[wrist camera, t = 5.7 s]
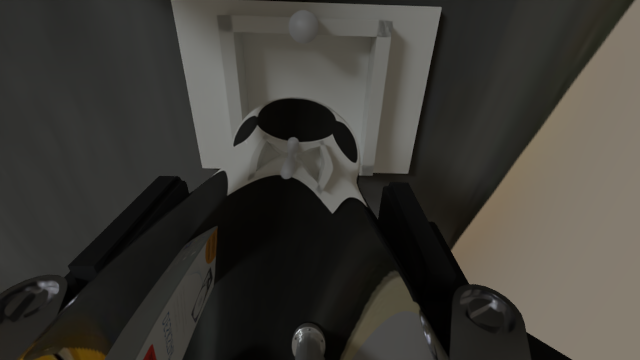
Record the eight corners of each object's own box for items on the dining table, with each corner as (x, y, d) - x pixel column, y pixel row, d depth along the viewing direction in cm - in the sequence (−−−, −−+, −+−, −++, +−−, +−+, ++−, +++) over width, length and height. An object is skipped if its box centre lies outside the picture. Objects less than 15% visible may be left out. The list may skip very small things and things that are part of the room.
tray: (437, 7, 22) (472, 4, 17) (405, 168, 29) (423, 202, 24) (176, -2, 22) (131, -8, 17) (206, 163, 29) (180, 195, 24)
